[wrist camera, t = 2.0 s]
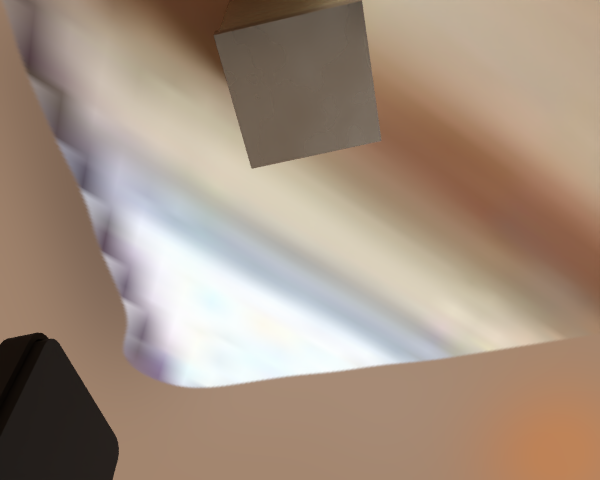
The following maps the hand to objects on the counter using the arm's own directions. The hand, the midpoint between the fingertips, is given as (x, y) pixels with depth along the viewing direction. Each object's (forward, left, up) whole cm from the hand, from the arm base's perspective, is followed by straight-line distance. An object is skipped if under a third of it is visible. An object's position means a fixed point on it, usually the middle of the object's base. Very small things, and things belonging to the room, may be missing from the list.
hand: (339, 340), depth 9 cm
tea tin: (0, 0, -20) cm, 20 cm away
